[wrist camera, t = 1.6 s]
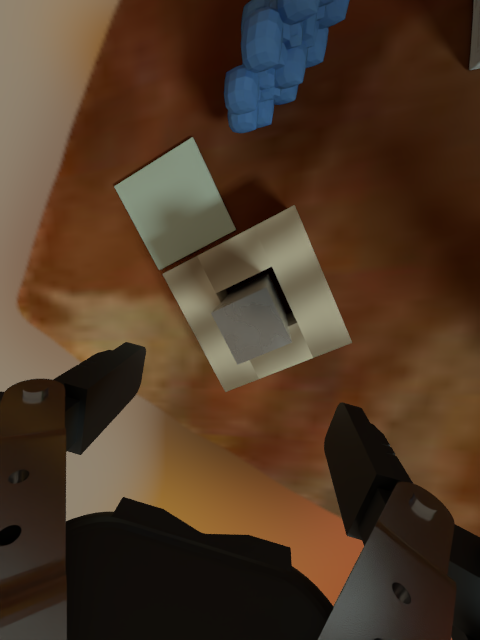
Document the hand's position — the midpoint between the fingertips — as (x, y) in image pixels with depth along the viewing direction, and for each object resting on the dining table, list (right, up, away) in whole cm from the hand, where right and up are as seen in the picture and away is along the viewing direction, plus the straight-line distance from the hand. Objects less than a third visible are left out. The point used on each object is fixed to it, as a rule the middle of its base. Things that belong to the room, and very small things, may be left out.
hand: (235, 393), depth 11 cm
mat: (-7, +15, +19) cm, 25 cm away
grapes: (+3, +25, +16) cm, 30 cm away
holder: (+2, +5, +21) cm, 22 cm away
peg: (+2, +5, +21) cm, 22 cm away
